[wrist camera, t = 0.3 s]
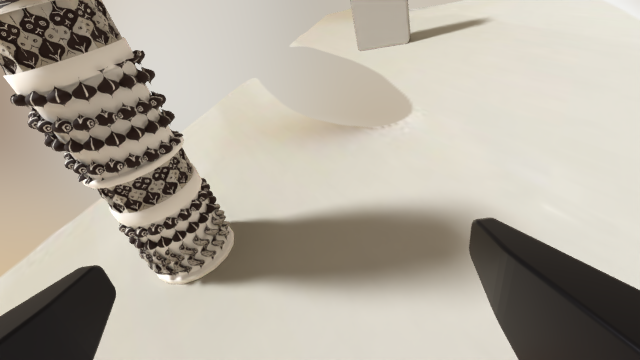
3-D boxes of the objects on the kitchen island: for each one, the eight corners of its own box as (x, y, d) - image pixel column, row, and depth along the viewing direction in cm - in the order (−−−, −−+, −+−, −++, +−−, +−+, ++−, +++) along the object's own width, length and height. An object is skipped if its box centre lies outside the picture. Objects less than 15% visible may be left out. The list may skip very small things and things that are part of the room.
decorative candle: (255, 240, 33) (113, -48, 20) (173, 305, 29) (-87, -10, 15) (213, 211, 40) (83, -24, 26) (141, 261, 35) (-65, 8, 21)
